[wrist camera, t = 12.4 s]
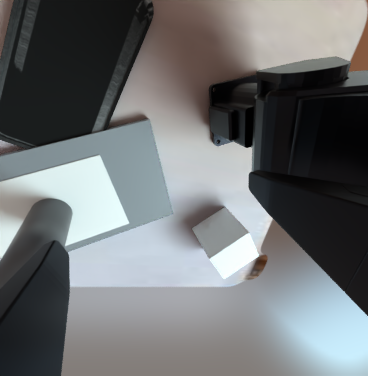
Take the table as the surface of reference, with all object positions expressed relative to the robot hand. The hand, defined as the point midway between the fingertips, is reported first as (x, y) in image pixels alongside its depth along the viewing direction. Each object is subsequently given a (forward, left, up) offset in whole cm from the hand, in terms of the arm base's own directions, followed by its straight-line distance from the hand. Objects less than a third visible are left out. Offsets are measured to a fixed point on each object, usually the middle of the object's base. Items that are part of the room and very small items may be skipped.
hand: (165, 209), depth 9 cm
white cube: (-8, +17, -13) cm, 23 cm away
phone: (+3, -6, -14) cm, 15 cm away
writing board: (+7, +5, -13) cm, 15 cm away
